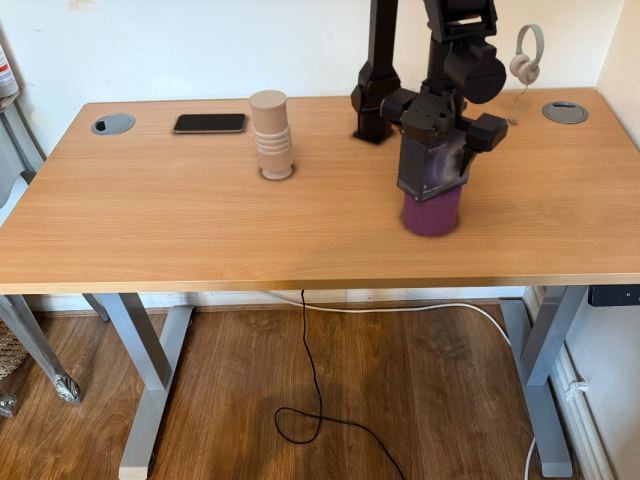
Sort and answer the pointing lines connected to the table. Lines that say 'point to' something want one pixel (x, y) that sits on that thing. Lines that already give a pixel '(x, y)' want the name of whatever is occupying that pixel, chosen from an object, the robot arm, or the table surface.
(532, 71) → the headphones
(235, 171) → the table surface
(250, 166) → the table surface
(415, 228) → the jar
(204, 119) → the smartphone
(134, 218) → the table surface
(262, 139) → the beige ribbed cylinder
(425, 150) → the small box
